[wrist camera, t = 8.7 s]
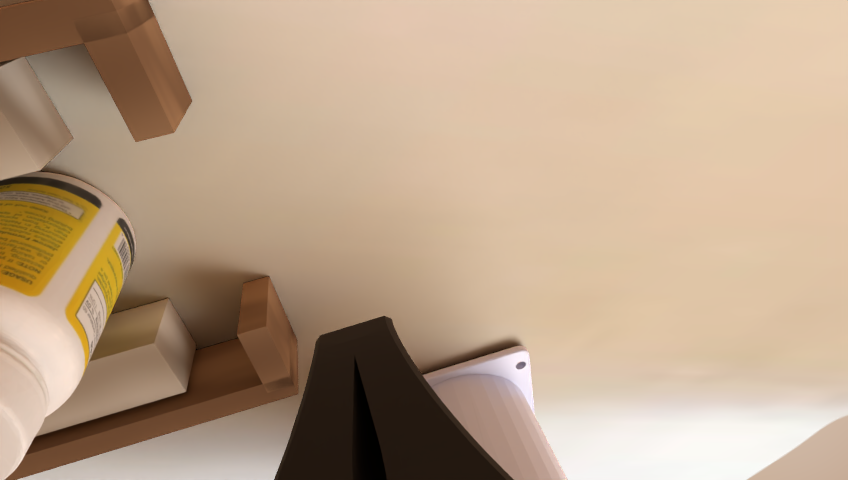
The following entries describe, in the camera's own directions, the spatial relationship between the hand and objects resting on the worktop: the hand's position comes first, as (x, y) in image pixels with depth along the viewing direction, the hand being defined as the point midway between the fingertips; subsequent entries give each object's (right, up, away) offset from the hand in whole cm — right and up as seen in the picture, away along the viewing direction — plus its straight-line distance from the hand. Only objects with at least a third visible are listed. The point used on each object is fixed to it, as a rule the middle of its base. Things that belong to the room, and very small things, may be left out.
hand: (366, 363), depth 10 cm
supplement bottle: (-11, +3, +8) cm, 14 cm away
